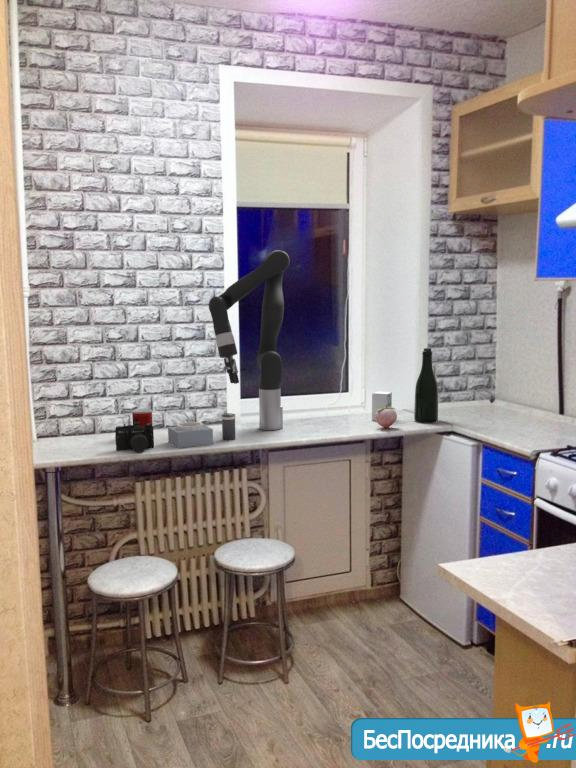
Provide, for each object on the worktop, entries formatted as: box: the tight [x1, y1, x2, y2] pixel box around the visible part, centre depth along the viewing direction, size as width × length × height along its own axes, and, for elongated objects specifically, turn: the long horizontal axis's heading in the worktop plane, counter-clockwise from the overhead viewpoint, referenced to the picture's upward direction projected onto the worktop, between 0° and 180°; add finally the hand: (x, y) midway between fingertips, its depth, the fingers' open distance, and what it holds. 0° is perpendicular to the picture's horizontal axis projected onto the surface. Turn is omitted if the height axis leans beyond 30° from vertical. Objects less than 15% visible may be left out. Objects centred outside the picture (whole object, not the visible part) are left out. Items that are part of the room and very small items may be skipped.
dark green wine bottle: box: [413, 347, 439, 424], centre depth 301 cm, size 10×10×33 cm
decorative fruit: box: [375, 405, 398, 429], centre depth 288 cm, size 9×8×10 cm
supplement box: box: [371, 391, 393, 422], centre depth 307 cm, size 7×7×13 cm
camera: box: [114, 422, 155, 453], centre depth 249 cm, size 14×11×10 cm
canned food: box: [131, 408, 153, 427], centre depth 273 cm, size 8×8×11 cm
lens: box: [221, 412, 236, 441], centre depth 268 cm, size 5×5×10 cm
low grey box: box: [167, 421, 214, 449], centre depth 261 cm, size 14×12×8 cm
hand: (235, 383), depth 277 cm, fingers open, 8 cm apart
